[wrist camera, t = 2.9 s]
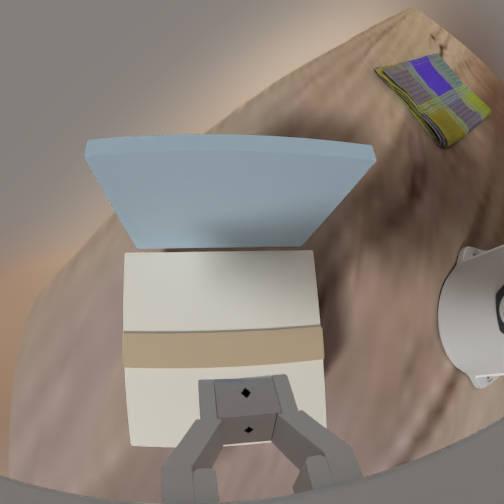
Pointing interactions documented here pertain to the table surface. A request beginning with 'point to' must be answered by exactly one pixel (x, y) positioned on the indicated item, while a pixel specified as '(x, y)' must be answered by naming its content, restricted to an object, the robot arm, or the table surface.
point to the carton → (216, 333)
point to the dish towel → (436, 98)
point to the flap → (224, 187)
